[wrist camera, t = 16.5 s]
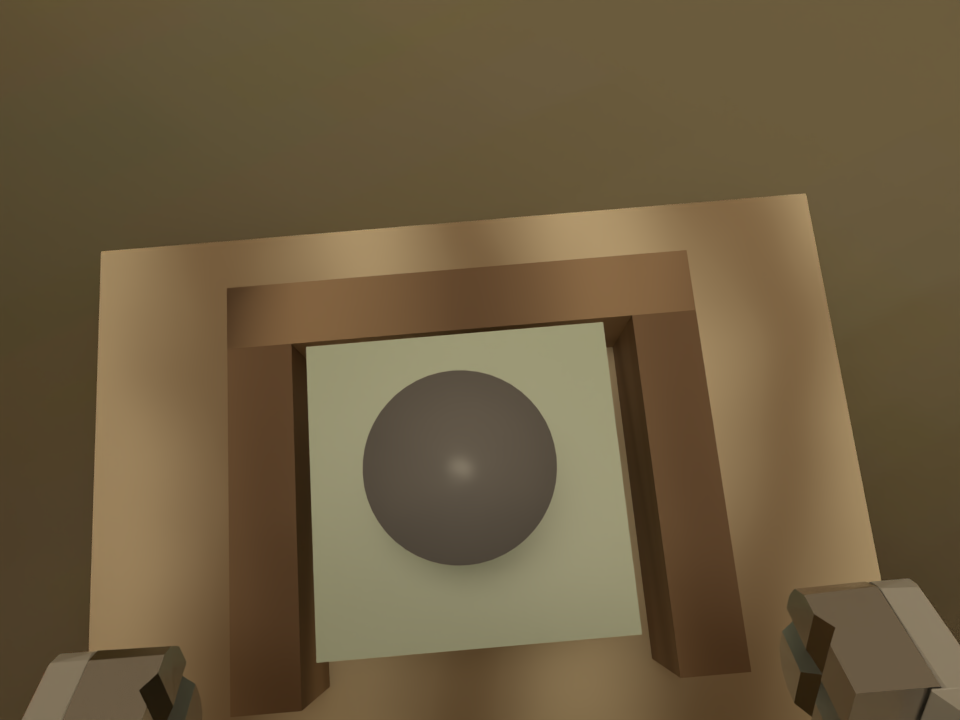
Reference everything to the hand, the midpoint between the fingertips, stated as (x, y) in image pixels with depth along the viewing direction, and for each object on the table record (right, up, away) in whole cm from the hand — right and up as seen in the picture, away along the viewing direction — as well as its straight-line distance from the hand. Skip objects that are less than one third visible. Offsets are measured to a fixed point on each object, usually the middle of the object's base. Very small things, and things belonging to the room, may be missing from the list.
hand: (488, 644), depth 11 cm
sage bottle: (0, 0, +10) cm, 10 cm away
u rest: (0, 0, +11) cm, 11 cm away
